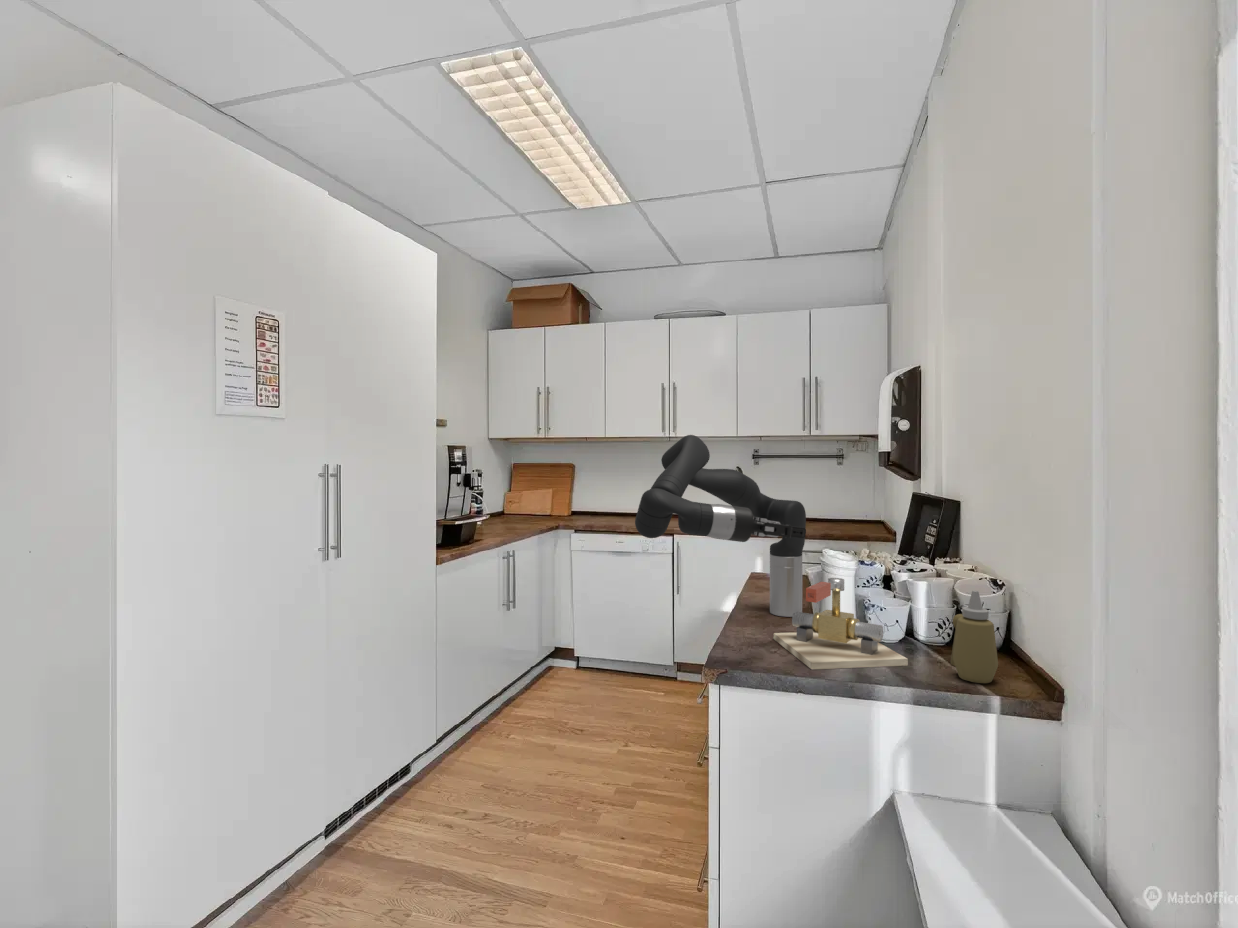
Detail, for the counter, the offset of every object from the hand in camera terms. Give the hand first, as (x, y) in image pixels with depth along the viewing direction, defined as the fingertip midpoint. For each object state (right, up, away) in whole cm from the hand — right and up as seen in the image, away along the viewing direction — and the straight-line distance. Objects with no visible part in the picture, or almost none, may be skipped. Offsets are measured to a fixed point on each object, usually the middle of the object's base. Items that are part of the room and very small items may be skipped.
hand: (795, 531), depth 132 cm
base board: (+12, -29, +8) cm, 32 cm away
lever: (+8, -15, +2) cm, 17 cm away
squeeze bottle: (+34, -29, -10) cm, 46 cm away
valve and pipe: (+12, -28, +8) cm, 31 cm away
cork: (+37, -29, -1) cm, 47 cm away
